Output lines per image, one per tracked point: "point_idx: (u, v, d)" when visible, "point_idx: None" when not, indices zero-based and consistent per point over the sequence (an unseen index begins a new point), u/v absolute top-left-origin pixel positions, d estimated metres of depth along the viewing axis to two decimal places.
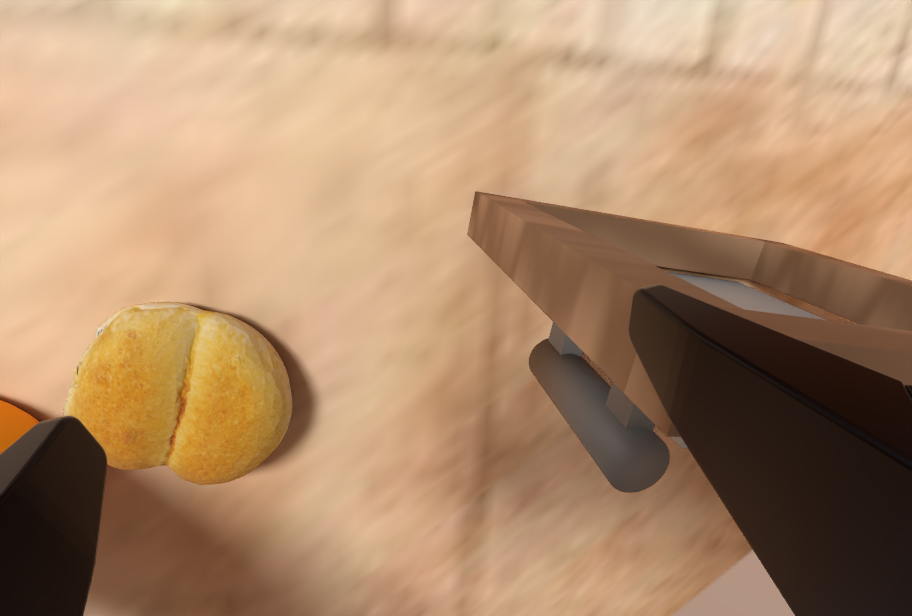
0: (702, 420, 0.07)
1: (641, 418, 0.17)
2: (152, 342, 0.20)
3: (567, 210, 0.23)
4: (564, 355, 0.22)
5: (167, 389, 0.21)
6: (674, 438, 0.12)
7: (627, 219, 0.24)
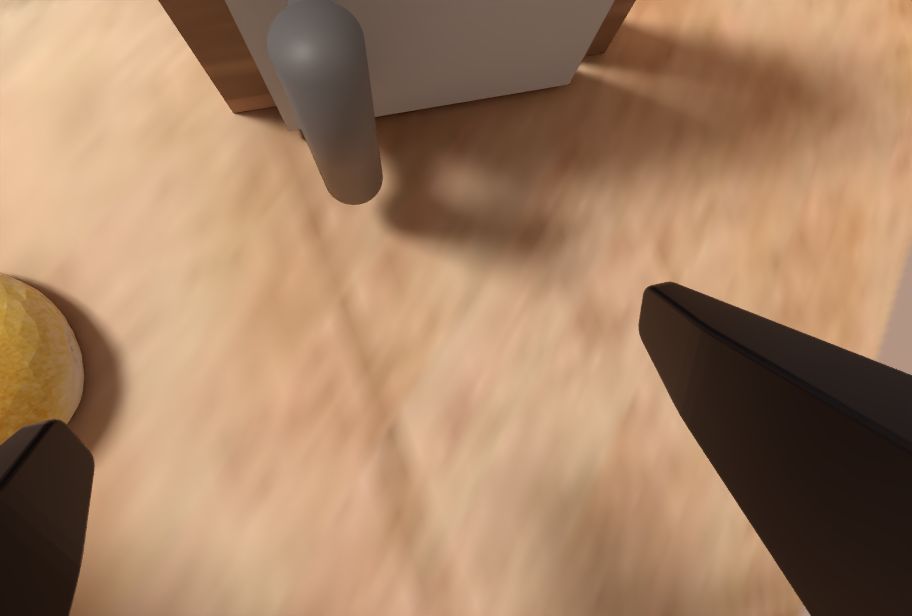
0: (714, 417, 0.07)
1: None
2: None
3: None
4: None
5: None
6: None
7: None
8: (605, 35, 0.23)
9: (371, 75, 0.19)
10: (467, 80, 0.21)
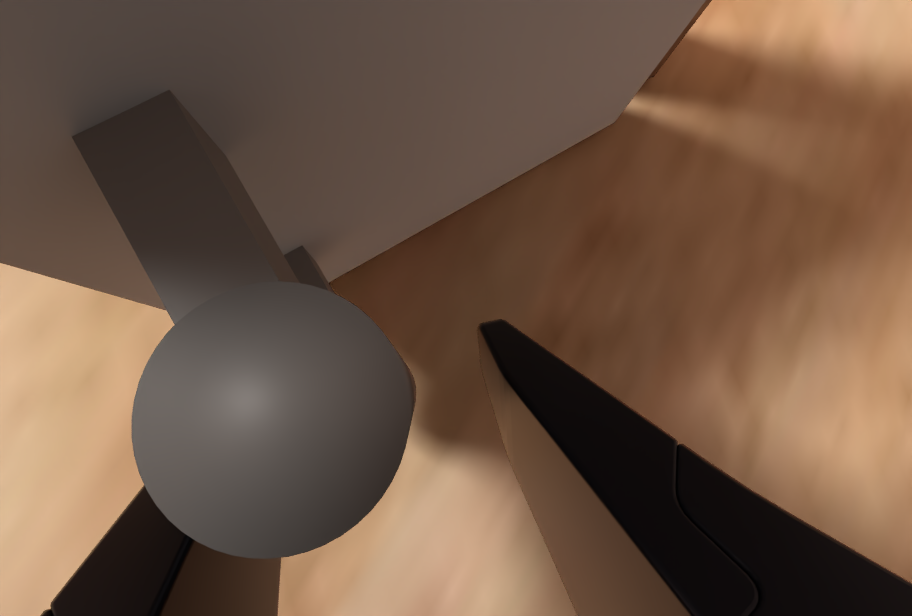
0: (524, 466, 0.07)
1: (207, 281, 0.05)
2: None
3: None
4: None
5: None
6: None
7: None
8: None
9: (346, 232, 0.11)
10: (485, 176, 0.13)
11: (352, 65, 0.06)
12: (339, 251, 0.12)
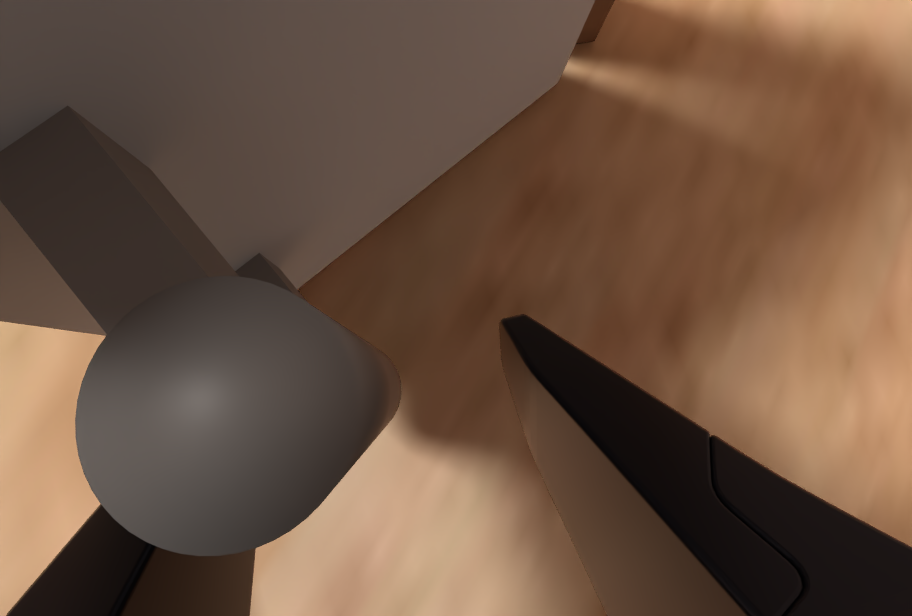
0: (549, 459, 0.07)
1: (138, 291, 0.05)
2: None
3: None
4: None
5: None
6: None
7: None
8: (593, 12, 0.15)
9: (302, 233, 0.11)
10: (435, 156, 0.13)
11: (260, 56, 0.06)
12: (300, 254, 0.12)
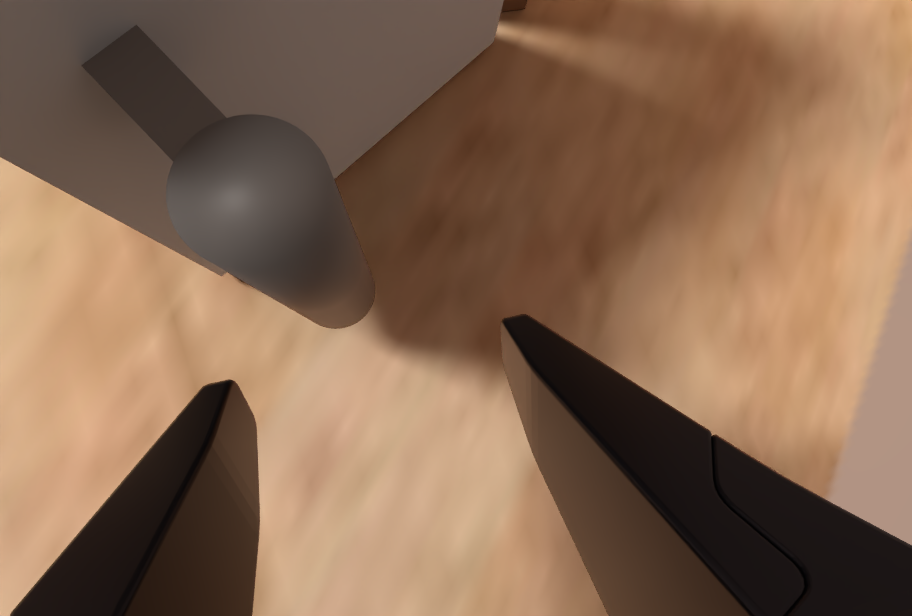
0: (551, 459, 0.07)
1: (191, 136, 0.08)
2: None
3: None
4: None
5: None
6: None
7: None
8: None
9: None
10: (392, 102, 0.16)
11: None
12: None
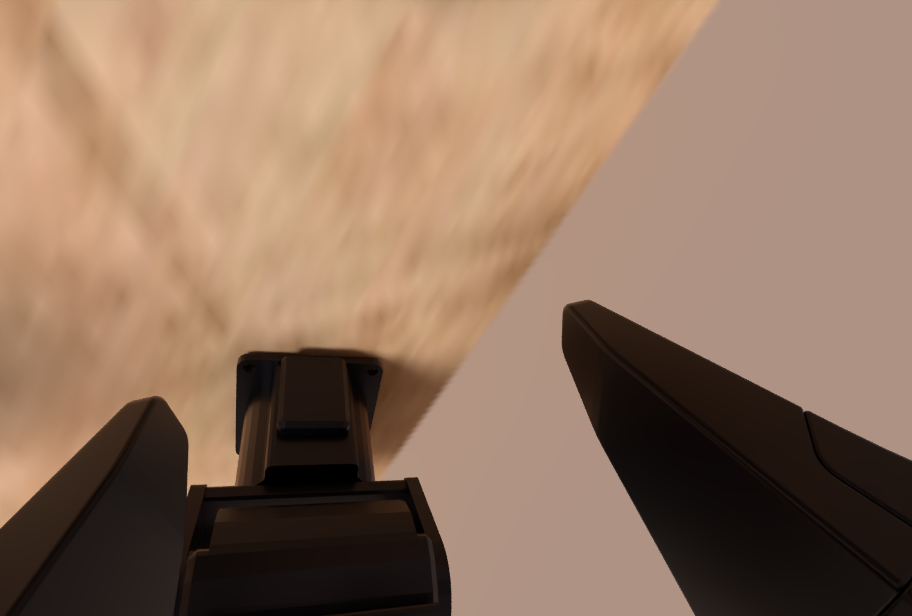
0: (622, 441, 0.07)
1: None
2: None
3: None
4: None
5: None
6: None
7: None
8: None
9: None
10: None
11: None
12: None
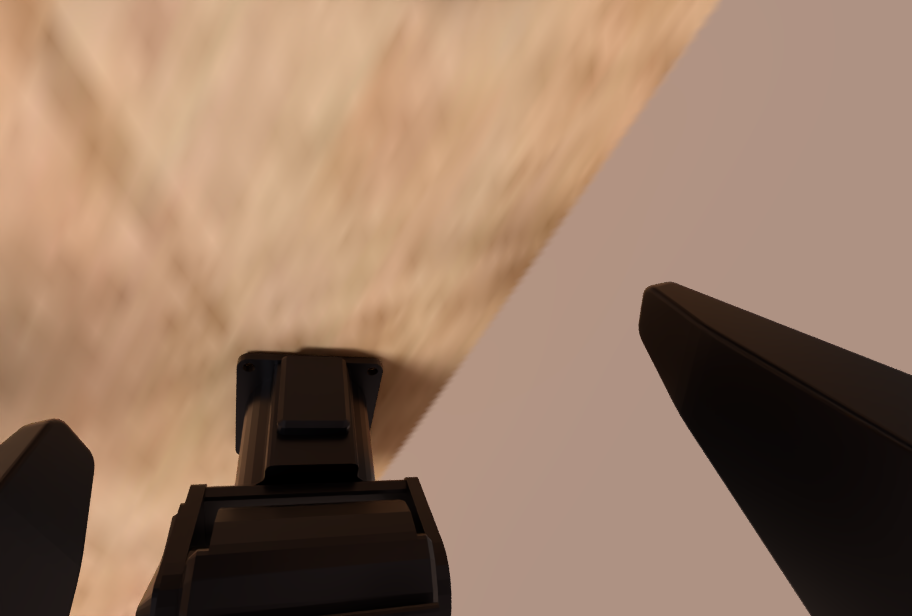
0: (714, 417, 0.07)
1: None
2: None
3: None
4: None
5: None
6: None
7: None
8: None
9: None
10: None
11: None
12: None
